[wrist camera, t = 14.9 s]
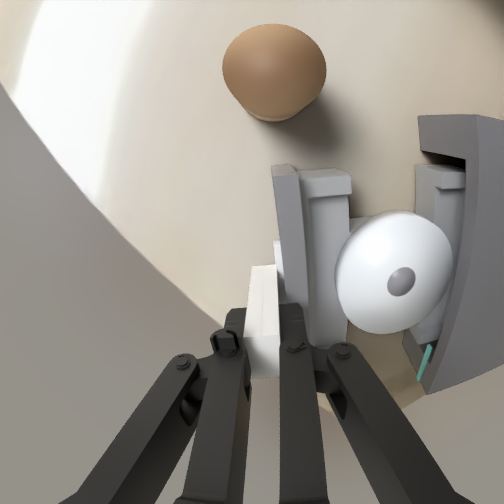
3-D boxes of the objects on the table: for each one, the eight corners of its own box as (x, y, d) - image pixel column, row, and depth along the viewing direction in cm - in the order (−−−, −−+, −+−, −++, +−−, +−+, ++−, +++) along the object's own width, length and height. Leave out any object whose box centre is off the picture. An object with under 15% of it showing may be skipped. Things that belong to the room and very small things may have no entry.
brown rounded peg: (232, 63, 15) (216, 31, 9) (301, 56, 14) (316, 21, 9) (242, 126, 16) (230, 120, 11) (311, 118, 16) (333, 109, 10)
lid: (446, 206, 14) (460, 213, 13) (431, 309, 17) (440, 322, 16) (331, 215, 15) (338, 224, 14) (333, 327, 18) (337, 342, 17)
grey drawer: (264, 166, 17) (263, 177, 12) (447, 158, 15) (489, 169, 11) (285, 341, 22) (287, 385, 18) (430, 317, 21) (453, 351, 16)
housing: (415, 115, 15) (474, 114, 9) (525, 133, 13) (573, 144, 7) (400, 345, 23) (424, 396, 17) (498, 316, 21) (527, 351, 15)
